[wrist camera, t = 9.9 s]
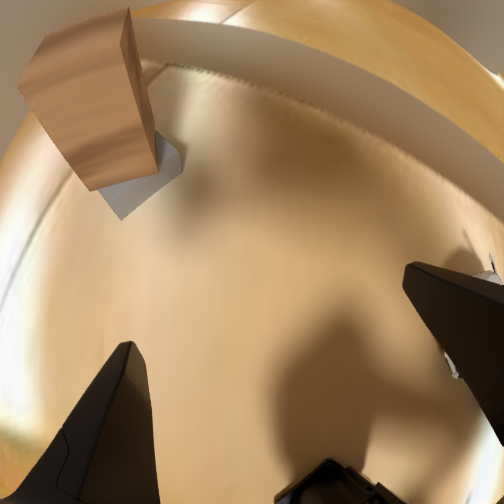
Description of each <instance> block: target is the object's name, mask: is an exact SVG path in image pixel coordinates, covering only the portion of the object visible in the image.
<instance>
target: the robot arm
mask: <svg viewBox="0 0 504 504" xmlns="http://www.w3.org/2000/svg"><path fill="white" fill-rule="evenodd" d="M402 285H403V290H404V292H405V293H406V295H407V296H408V298H409V299H410V301H411V303H412V304H413V306H414V307H415V309H416V311H417V312H418V314H419V315H420V317H421V319H422V320H423V322H424V323H425V325H426V326H427V327H428V329H429V330H430V331H431V333H432V334H433V336H434V337H435V338H436V340H437V341H438V343H439V344H440V345H441V347H442V348H443V350H444V351H445V352H446V354H447V355H448V357H449V358H450V360H451V361H452V363H453V364H454V366H455V367H456V369H457V370H458V372H459V373H460V375H461V376H462V378H463V379H464V381H465V382H466V384H467V385H468V387H469V389H470V390H471V392H472V393H473V395H474V397H475V398H476V400H477V402H478V403H479V405H480V407H481V409H482V410H483V412H484V414H485V416H486V417H487V419H488V421H489V423H490V424H491V426H492V428H493V430H494V432H495V434H496V436H497V437H498V439H499V441H500V443H501V445H502V446H503V447H504V285H500V284H498V283H494V282H491V281H487V280H484V279H480V278H477V277H473V276H470V275H466V274H462V273H459V272H455V271H451V270H448V269H444V268H440V267H437V266H433V265H429V264H425V263H421V262H417V261H415V262H412V263H409V264H407V265H406V267H405V272H404V278H403V284H402ZM330 462H331V465H329V466H327V465H328V463H330ZM0 504H160V497H159V489H158V481H157V472H156V462H155V451H154V437H153V419H152V407H151V400H150V393H149V386H148V378H147V370H146V364H145V361H144V358H143V357H142V355H141V353H140V351H139V350H138V348H137V346H136V344H135V343H134V342H133V341H127V342H122V343H120V344H119V345H118V346H117V348H116V349H115V350H114V352H113V353H112V354H111V356H110V357H109V358H108V360H107V361H106V363H105V364H104V365H103V367H102V368H101V370H100V371H99V372H98V374H97V375H96V377H95V378H94V379H93V381H92V382H91V384H90V385H89V387H88V388H87V390H86V391H85V392H84V394H83V395H82V397H81V398H80V400H79V401H78V403H77V404H76V406H75V407H74V409H73V410H72V412H71V413H70V415H69V416H68V418H67V419H66V421H65V422H64V424H63V425H62V428H60V430H59V431H58V433H57V434H56V436H55V437H54V439H53V440H52V442H51V443H50V445H49V446H48V448H47V449H46V451H45V452H44V454H43V455H42V456H41V458H40V459H39V460H38V462H37V463H36V464H35V466H34V467H33V468H32V470H31V471H30V472H29V474H28V475H27V476H26V478H25V479H24V480H23V482H22V483H21V484H20V486H19V487H18V488H17V489H16V491H15V492H13V493H12V494H11V495H9V496H8V497H6V498H3V499H0ZM274 504H410V503H409V502H407V501H406V500H404V499H403V498H401V497H400V496H398V495H397V494H395V493H394V492H392V491H391V490H389V489H388V488H386V487H385V486H384V485H382V484H381V483H379V482H378V483H377V484H374V483H373V482H372V481H371V480H369V479H368V478H367V477H366V476H364V475H363V474H361V473H360V472H359V471H357V470H356V469H354V468H353V467H352V466H348V467H347V468H344V467H343V466H342V465H340V464H339V463H338V462H336V461H335V460H334V459H332V458H328V459H326V460H325V461H324V462H323V463H322V464H320V465H319V466H318V467H317V468H316V469H315V470H314V471H313V472H311V473H310V474H309V475H308V476H307V477H306V478H304V479H303V480H302V481H301V482H300V483H298V484H297V485H296V486H295V487H294V488H292V489H291V490H290V491H288V492H287V493H286V494H285V495H283V496H282V497H281V498H279V499H278V500H277V501H275V503H274ZM496 504H504V496H503V497H502V498H501V499H500V500H499V501H498V502H497V503H496Z"/></svg>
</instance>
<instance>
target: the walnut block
mask: <svg viewBox="0 0 504 504" xmlns="http://www.w3.org/2000/svg"><path fill="white" fill-rule="evenodd" d="M17 87H18V89H19V90H20V92H21V94H22V95H23V97H24V98H25V100H26V102H27V103H28V105H29V106H30V108H31V110H32V111H33V113H34V114H35V116H36V117H37V119H38V120H39V122H40V124H41V125H42V127H43V128H44V129H45V131H46V132H47V134H48V135H49V137H50V138H51V140H52V141H53V143H54V144H55V145H56V147H57V148H58V150H59V151H60V152H61V154H62V155H63V157H64V158H65V159H66V161H67V162H68V163H69V165H70V166H71V167H72V169H73V170H74V171H75V173H76V174H77V175H78V177H79V178H80V179H81V181H82V182H83V183H84V185H85V186H86V187H87V188H88V190H89V191H90V192H91V191H94V190H97V189H101V188H104V187H108V186H111V185H115V184H119V183H122V182H126V181H130V180H134V179H138V178H142V177H146V176H150V175H154V174H158V173H159V169H158V159H157V148H156V135H155V121H154V117H153V113H152V109H151V105H150V101H149V97H148V93H147V89H146V85H145V81H144V77H143V72H142V68H141V64H140V59H139V54H138V50H137V45H136V40H135V35H134V31H133V25H132V20H131V15H130V9H129V6H126V7H123V8H119V9H115V10H112V11H109V12H105V13H103V14H99V15H97V16H93V17H91V18H88V19H85V20H83V21H80V22H77V23H75V24H72V25H70V26H68V27H65V28H63V29H61V30H58V31H56V32H54V33H51V34H49V35H47V36H45V38H44V40H43V41H42V43H41V44H40V46H39V47H38V49H37V51H36V52H35V54H34V56H33V57H32V59H31V61H30V63H29V64H28V66H27V68H26V70H25V72H24V74H23V75H22V77H21V79H20V81H19V83H18V85H17Z"/></svg>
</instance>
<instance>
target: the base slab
mask: <svg viewBox="0 0 504 504" xmlns="http://www.w3.org/2000/svg"><path fill="white" fill-rule="evenodd" d="M155 135H156V148H157V159H158V169H159V173H158V174H154V175H150V176H146V177H142V178H138V179H134V180H130V181H126V182H122V183H119V184H115V185H111V186H108V187H104V188H101V189H98V191H99V192H100V194H101V195H102V196H103V198H104V199H105V200H106V202H107V203H108V205H109V206H110V207H111V208H112V210H113V211H114V212H115V214H116V215H117V216H118V217H119V219H120V220H123V219H124V218H125V217H126V216H127V215H128V214H130V213H131V212H132V211H133V210H134V209H136V208H137V207H138V206H139V205H140V204H142V203H143V202H144V201H145V200H147V199H148V198H149V197H150V196H152V195H153V194H154V193H155V192H157V191H158V190H159V189H160V188H162V187H163V186H164V185H166V184H167V183H168V182H169V181H171V180H172V179H173V178H175V177H176V176H177V175H179V174H180V173H181V172H183V170H182V166H181V161H180V156H179V152H178V151H177V150H176V149H175V148H174V147H173V146H172V145H171V144H170V143H169V142H168V141H167V140H166V139H164V138H163V137H162V136H161V135H160V134H159V133H158V132H157V131H156V130H155Z"/></svg>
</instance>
